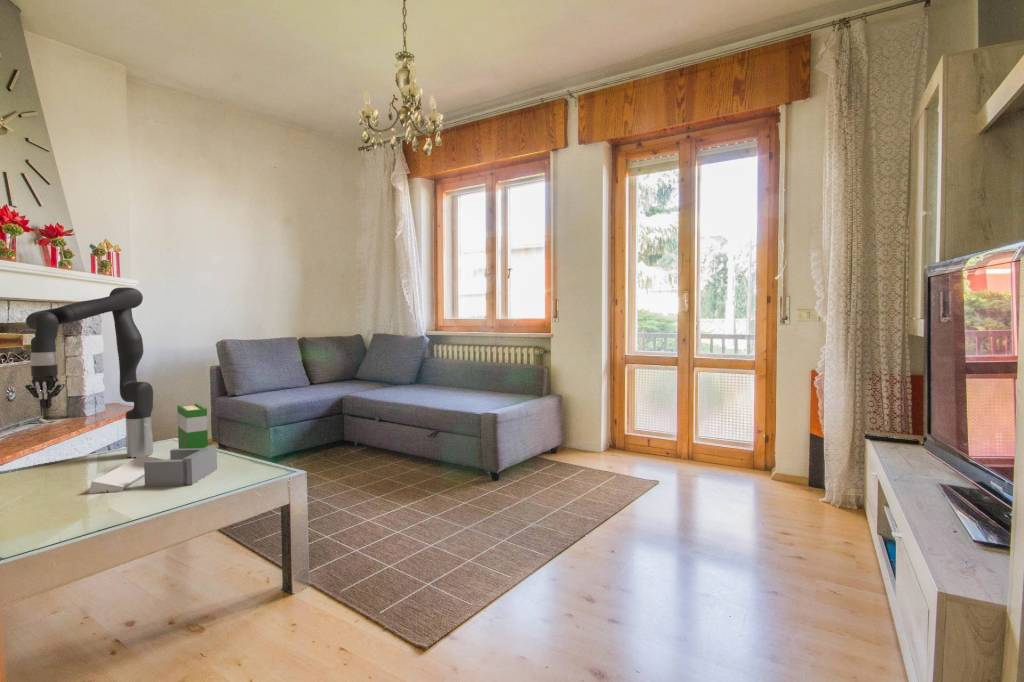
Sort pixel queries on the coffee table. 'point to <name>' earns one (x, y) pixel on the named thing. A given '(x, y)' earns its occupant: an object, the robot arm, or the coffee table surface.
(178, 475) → the end cap
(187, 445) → the hardback book
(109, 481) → the decorative molding
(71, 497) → the coffee table surface
